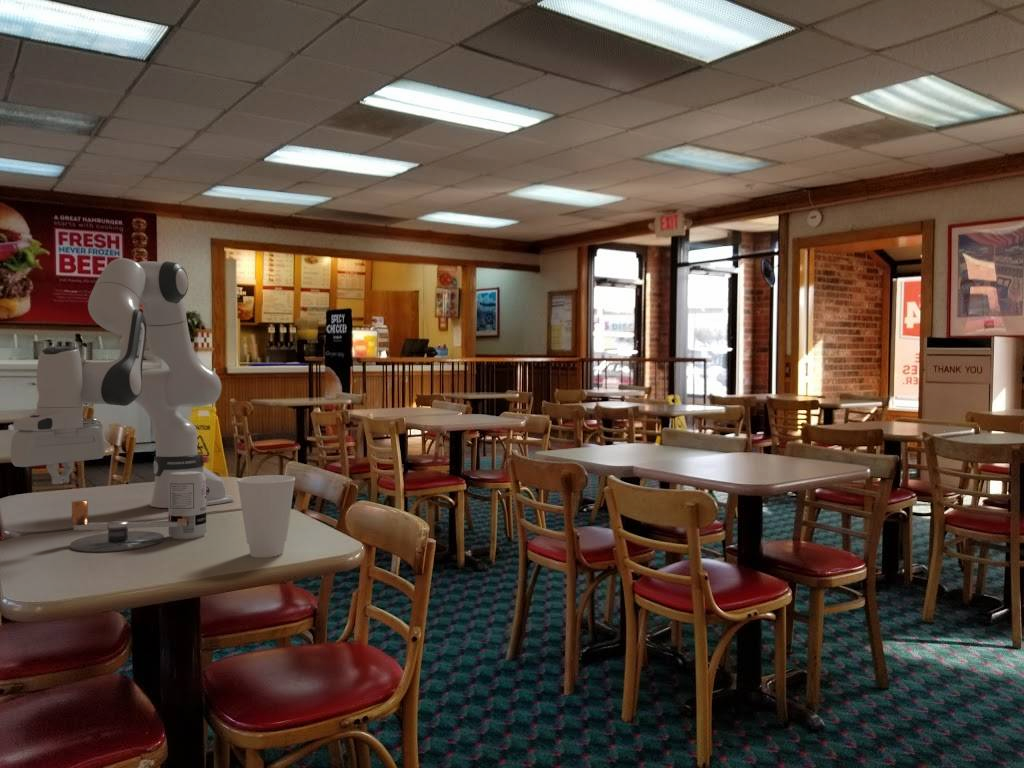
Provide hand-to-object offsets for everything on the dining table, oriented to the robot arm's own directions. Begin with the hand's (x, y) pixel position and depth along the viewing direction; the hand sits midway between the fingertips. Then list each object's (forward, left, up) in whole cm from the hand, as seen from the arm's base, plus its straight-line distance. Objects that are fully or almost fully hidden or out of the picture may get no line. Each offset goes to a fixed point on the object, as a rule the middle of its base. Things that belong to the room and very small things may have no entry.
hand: (60, 483), depth 177 cm
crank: (-13, +3, -11) cm, 18 cm away
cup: (-32, +34, -14) cm, 49 cm away
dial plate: (-11, +2, -14) cm, 18 cm away
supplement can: (-25, +5, -15) cm, 30 cm away
